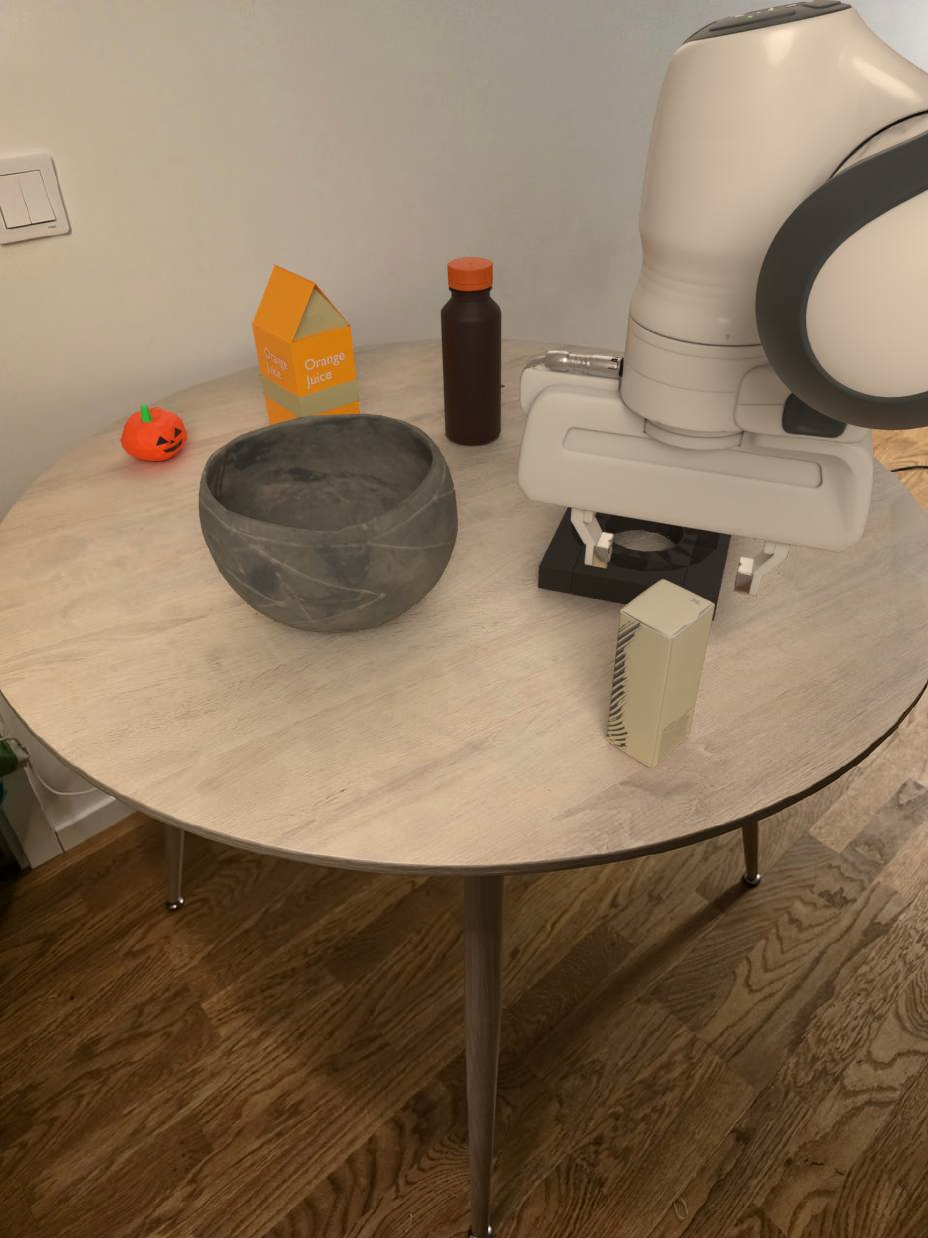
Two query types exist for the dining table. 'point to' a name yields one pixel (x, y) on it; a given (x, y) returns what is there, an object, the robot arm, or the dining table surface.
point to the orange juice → (303, 351)
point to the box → (657, 671)
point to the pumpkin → (153, 434)
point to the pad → (635, 561)
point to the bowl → (330, 519)
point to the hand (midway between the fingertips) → (670, 575)
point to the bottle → (471, 354)
